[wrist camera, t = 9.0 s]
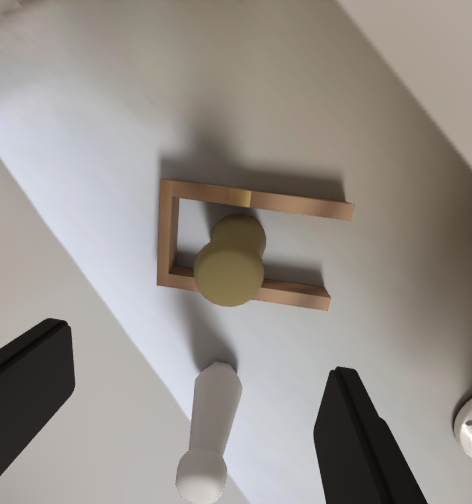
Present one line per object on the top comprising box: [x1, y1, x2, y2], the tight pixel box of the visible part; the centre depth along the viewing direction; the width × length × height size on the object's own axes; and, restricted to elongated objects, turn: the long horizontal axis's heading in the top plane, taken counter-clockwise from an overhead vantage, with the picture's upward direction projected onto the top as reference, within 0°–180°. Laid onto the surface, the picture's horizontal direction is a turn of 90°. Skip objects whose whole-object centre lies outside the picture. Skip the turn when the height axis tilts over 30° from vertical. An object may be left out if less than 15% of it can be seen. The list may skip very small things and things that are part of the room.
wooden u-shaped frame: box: [157, 179, 355, 311], centre depth 26 cm, size 18×11×3 cm, turn 83°
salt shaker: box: [176, 361, 242, 504], centre depth 27 cm, size 6×6×13 cm
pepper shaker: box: [194, 214, 266, 307], centre depth 23 cm, size 6×6×11 cm
